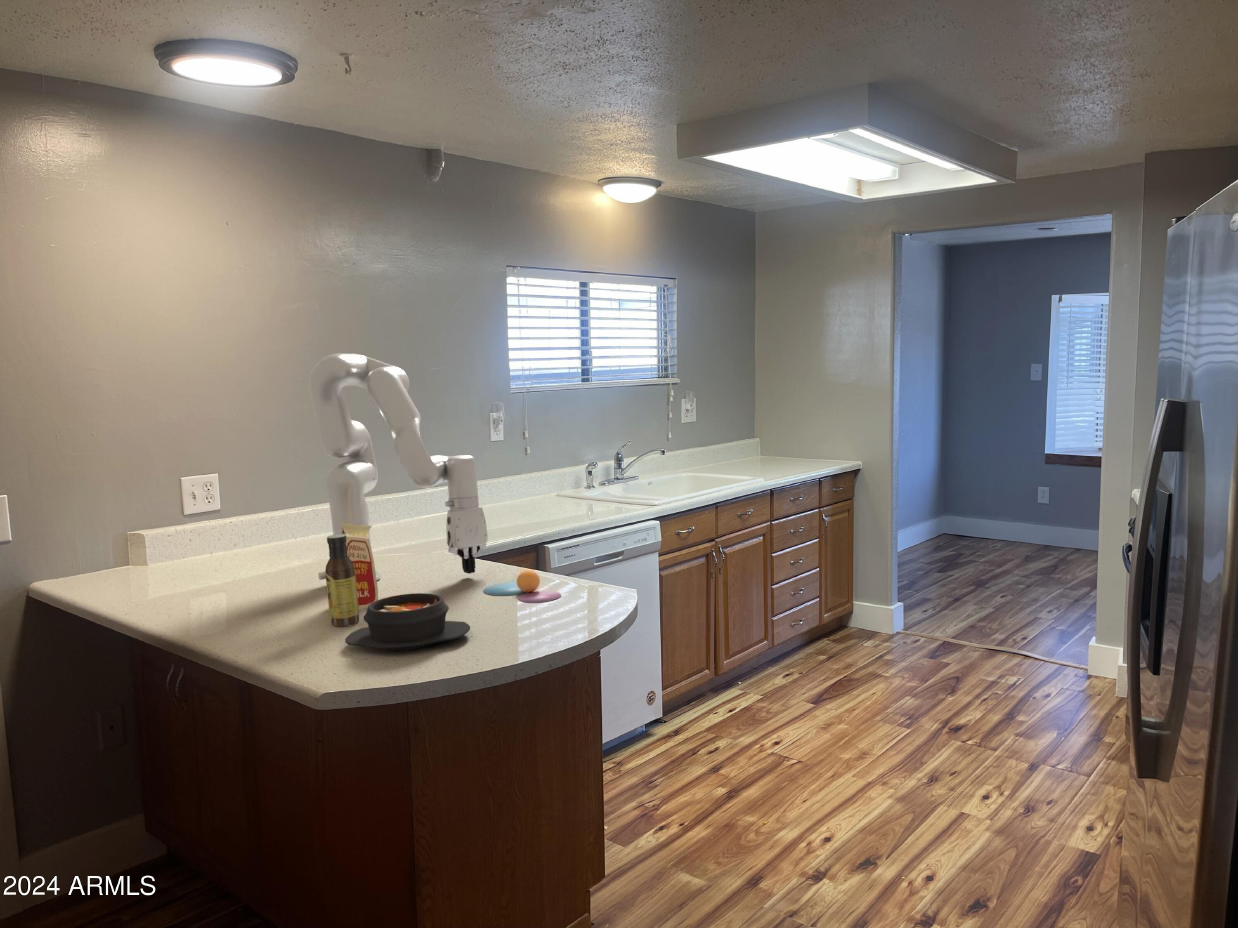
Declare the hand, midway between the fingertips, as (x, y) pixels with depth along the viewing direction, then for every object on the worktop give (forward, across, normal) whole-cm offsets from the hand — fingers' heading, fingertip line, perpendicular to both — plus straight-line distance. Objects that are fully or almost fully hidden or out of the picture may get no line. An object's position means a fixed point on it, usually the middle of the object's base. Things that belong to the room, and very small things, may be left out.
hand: (469, 572), depth 241 cm
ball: (-1, +1, -26) cm, 26 cm away
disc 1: (+2, 0, -19) cm, 19 cm away
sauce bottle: (+2, -41, -15) cm, 44 cm away
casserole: (+2, -38, -39) cm, 54 cm away
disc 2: (+2, 0, -32) cm, 32 cm away
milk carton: (+2, -31, -1) cm, 31 cm away
